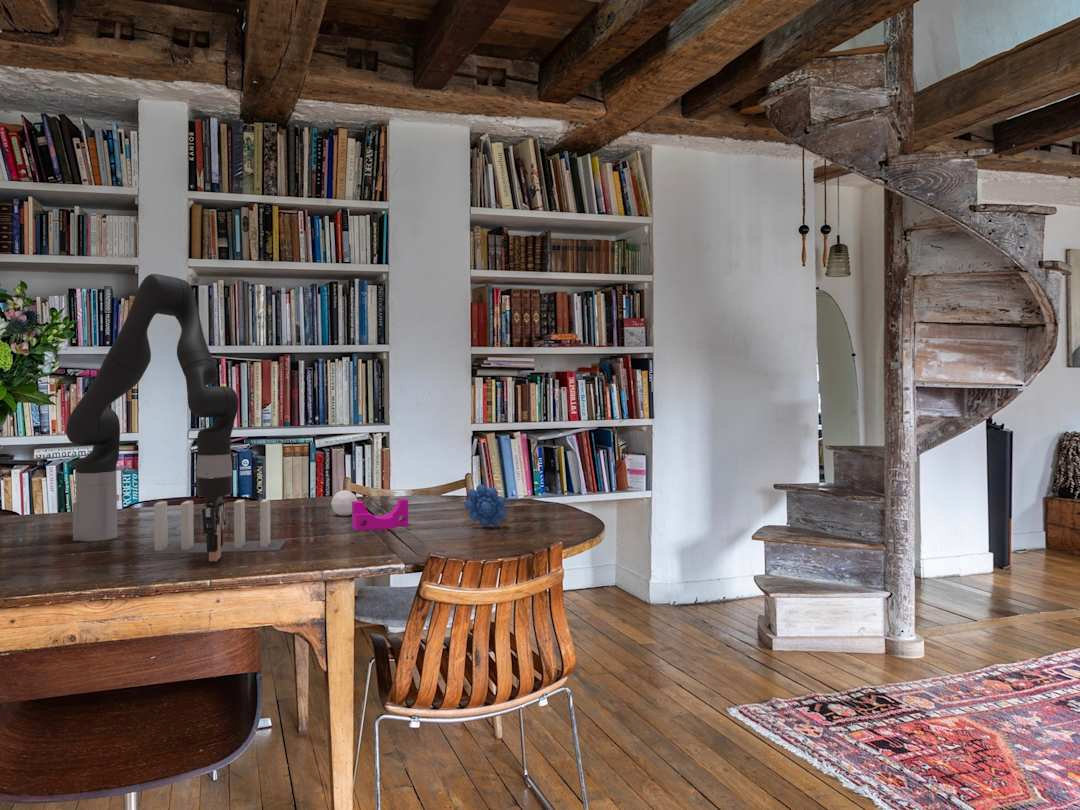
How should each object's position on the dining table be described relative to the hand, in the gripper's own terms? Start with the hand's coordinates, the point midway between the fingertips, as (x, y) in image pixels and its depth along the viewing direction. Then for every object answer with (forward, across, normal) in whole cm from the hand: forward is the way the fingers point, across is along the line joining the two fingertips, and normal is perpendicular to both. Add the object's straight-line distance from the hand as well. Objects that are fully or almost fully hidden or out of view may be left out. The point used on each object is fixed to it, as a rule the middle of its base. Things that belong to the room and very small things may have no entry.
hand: (215, 548), depth 186 cm
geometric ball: (+3, -58, +25) cm, 63 cm away
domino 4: (+2, -13, +3) cm, 13 cm away
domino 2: (+2, -13, -9) cm, 16 cm away
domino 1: (+2, -13, -15) cm, 20 cm away
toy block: (+3, -37, +36) cm, 52 cm away
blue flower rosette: (+3, -31, +65) cm, 72 cm away
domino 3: (+2, 0, 0) cm, 2 cm away
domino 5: (+2, -13, +9) cm, 16 cm away
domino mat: (+2, -13, -3) cm, 14 cm away
